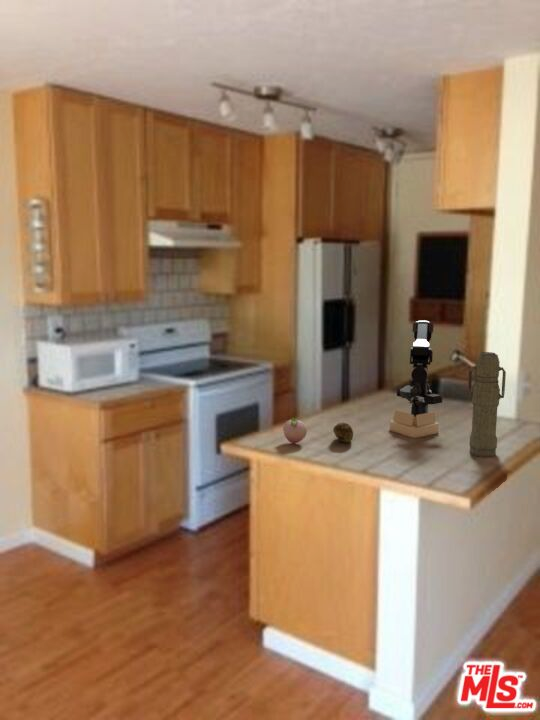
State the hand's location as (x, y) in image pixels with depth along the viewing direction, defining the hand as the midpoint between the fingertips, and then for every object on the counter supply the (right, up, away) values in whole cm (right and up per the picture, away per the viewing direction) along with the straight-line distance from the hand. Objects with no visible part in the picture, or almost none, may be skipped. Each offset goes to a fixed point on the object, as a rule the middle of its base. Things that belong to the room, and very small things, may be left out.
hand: (418, 417), depth 259 cm
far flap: (-7, -2, -4) cm, 8 cm away
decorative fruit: (-48, -8, -16) cm, 51 cm away
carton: (-2, -6, +1) cm, 6 cm away
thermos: (+16, -10, -27) cm, 33 cm away
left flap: (+2, -2, -5) cm, 6 cm away
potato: (-30, -8, -14) cm, 34 cm away
